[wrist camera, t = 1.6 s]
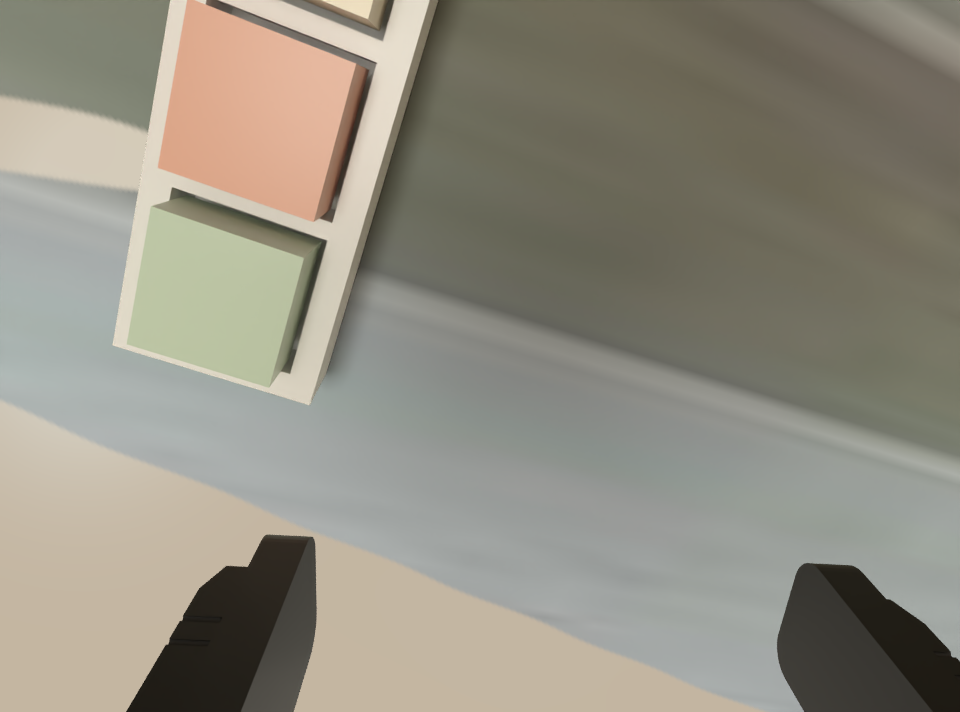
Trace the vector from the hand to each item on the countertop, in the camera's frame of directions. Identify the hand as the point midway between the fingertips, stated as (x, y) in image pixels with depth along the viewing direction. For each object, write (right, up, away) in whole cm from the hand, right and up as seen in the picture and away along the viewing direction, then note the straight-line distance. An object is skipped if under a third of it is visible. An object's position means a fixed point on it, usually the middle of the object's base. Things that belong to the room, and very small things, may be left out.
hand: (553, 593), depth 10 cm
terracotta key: (-8, +13, +12) cm, 20 cm away
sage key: (-11, +7, +14) cm, 19 cm away
